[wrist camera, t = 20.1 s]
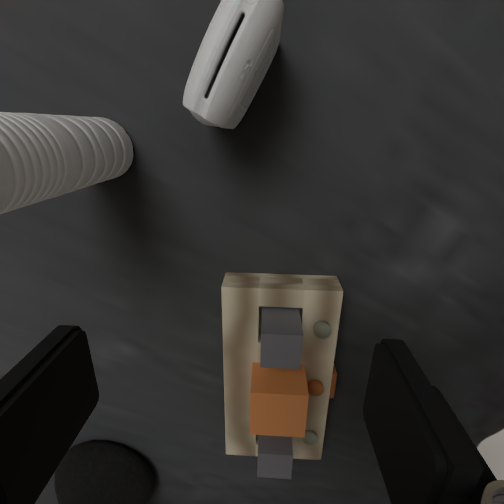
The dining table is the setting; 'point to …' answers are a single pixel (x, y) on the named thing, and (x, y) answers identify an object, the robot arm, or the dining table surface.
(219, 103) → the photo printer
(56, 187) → the water bottle
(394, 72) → the dining table surface
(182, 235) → the dining table surface
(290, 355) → the block
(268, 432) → the cap
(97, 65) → the dining table surface
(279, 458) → the block
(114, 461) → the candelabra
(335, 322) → the breaker board
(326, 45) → the dining table surface
